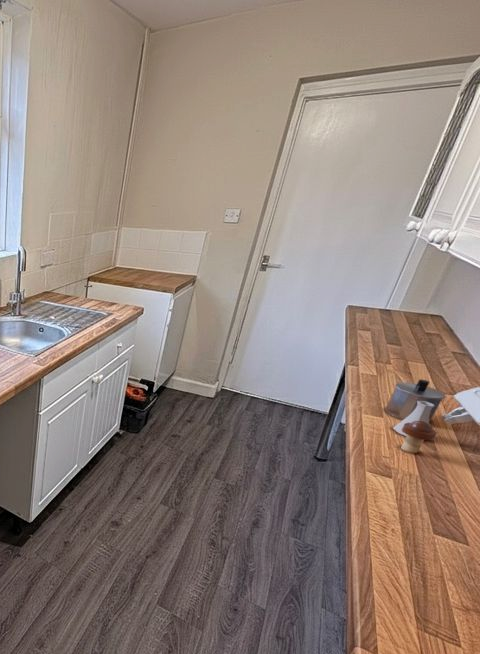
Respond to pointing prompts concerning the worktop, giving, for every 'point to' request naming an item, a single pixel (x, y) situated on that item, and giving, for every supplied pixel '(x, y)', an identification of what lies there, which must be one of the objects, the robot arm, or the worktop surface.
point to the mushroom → (416, 435)
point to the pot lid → (420, 390)
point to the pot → (407, 404)
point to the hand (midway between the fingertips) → (445, 420)
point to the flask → (416, 415)
